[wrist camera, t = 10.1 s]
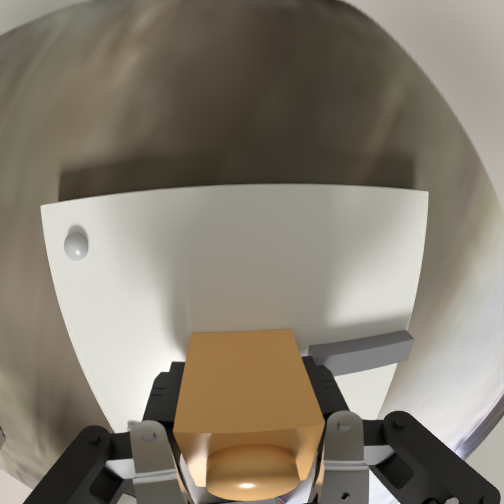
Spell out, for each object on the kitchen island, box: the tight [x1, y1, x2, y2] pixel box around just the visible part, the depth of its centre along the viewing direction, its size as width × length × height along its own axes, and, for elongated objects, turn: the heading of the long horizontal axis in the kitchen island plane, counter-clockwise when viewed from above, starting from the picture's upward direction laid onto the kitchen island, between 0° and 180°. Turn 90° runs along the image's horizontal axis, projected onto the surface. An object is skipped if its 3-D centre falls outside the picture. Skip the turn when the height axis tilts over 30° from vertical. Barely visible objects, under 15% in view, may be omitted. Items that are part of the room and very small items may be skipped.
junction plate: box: [41, 184, 428, 433], centre depth 11 cm, size 16×18×6 cm
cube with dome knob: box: [173, 329, 325, 501], centre depth 9 cm, size 4×4×6 cm
